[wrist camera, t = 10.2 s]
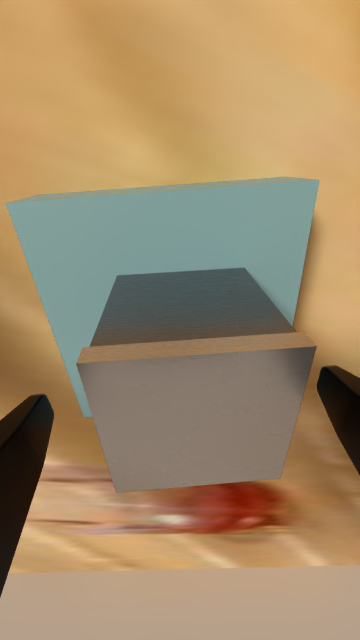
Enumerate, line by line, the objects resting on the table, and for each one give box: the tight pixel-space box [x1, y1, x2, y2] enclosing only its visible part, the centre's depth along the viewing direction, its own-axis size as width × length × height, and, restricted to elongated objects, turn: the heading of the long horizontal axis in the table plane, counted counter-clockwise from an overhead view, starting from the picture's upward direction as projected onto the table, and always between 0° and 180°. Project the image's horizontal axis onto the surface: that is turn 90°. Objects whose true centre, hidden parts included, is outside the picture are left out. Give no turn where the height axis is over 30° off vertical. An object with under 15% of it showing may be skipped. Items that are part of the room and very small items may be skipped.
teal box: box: [6, 177, 319, 418], centre depth 14 cm, size 11×11×4 cm
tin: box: [76, 268, 317, 493], centre depth 10 cm, size 5×5×6 cm
